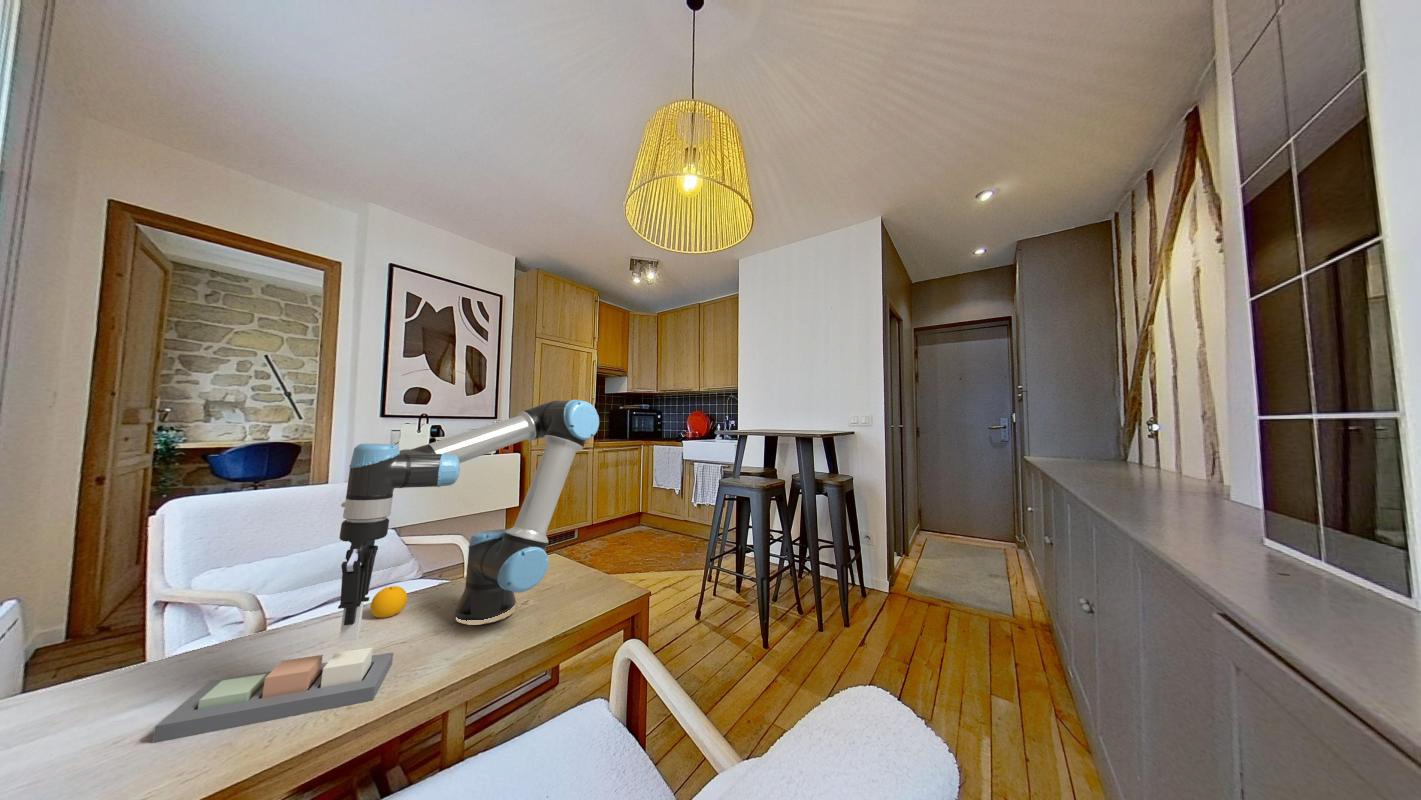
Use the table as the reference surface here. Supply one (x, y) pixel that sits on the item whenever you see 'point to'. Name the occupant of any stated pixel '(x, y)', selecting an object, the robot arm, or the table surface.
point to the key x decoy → (292, 676)
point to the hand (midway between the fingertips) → (349, 638)
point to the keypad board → (270, 703)
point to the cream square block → (346, 667)
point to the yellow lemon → (388, 601)
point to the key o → (233, 691)
